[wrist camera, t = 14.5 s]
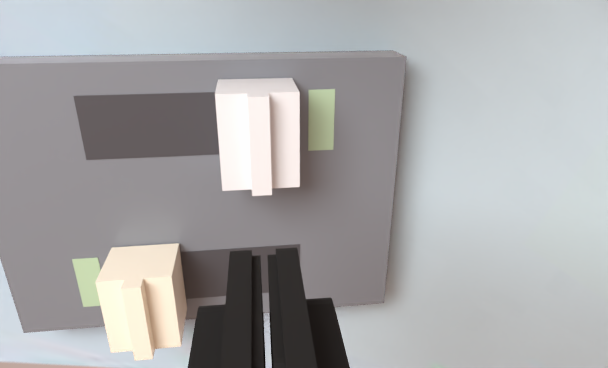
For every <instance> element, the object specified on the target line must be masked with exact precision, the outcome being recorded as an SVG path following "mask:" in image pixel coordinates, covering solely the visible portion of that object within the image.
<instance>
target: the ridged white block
mask: <svg viewBox="0 0 608 368" xmlns="http://www.w3.org/2000/svg"><path fill="white" fill-rule="evenodd" d="M215 102H216V115H217V128H218V141H219V154H220V167H221V180H222V191H231V190H251V189H252V196H263V195H272V188H290V187H300V92H299V90H298V88H297V86H296V84H295V83H294V81H293V79H292V78H261V79H218V82H217V87H216V91H215Z"/></svg>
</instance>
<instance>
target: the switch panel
mask: <svg viewBox="0 0 608 368" xmlns="http://www.w3.org/2000/svg"><path fill="white" fill-rule="evenodd" d="M405 67H406V56H403V55H401V54H399V53H397V52H395V51H335V52H272V53H209V54H146V55H83V56H20V57H0V259H1V262H2V265H3V268H4V271H5V275H6V278H7V281H8V284H9V287H10V291H11V294H12V297H13V300H14V303H15V306H16V310H17V313H18V316H19V319H20V322H21V325H22V329H23V332H24V333H28V332H40V331H52V330H64V329H76V328H88V327H100V326H105V323H104V319H103V314H102V310H101V305H100V301H99V296H98V292H97V287H96V283H95V282H96V279H97V277H98V275H99V273H100V271H101V269H102V267H103V265H104V263H105V261H106V258H107V256H108V254H109V252H110V250H111V248H112V247H128V246H144V245H159V244H175V243H179V247H180V255H181V263H182V271H183V279H184V287H185V295H186V303H187V312H186V319H196V316H197V311H198V307H199V306H209V305H224V304H225V303H226V291H227V279H228V267H229V255H230V251H241V250H252V256H255V255H260V256H261V277H262V298H263V313H268V312H270V309H269V283H268V257H267V255H272V254H276V249H277V248H295V247H297V250H298V256H299V261H300V267H301V273H302V279H303V285H304V291H305V297H306V299H315V298H330V297H331V298H332V300H333V304H334V307H341V306H353V305H365V304H377V303H384V297H385V286H386V275H387V264H388V253H389V242H390V232H391V221H392V210H393V199H394V188H395V177H396V166H397V155H398V144H399V133H400V122H401V111H402V100H403V89H404V78H405ZM261 78H292V79H293V81H294V83H295V84H296V86H297V88H298V90H299V92H300V187H290V188H272V195H263V196H252V189H251V190H231V191H222V180H221V167H220V154H219V141H218V128H217V115H216V102H215V91H216V87H217V82H218V79H261Z"/></svg>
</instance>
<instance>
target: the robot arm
mask: <svg viewBox="0 0 608 368" xmlns="http://www.w3.org/2000/svg"><path fill="white" fill-rule="evenodd" d="M267 257H268V283H269V309H270V334H271V356H272V368H350V367H349V363H348V359H347V355H346V351H345V347H344V343H343V339H342V335H341V331H340V327H339V324H338V320H337V316H336V312H335V308H334V304H333V300H332V298H331V297H330V298H315V299H306V297H305V291H304V285H303V279H302V273H301V267H300V261H299V256H298V250H297V247H295V248H277V249H276V254H272V255H267ZM188 368H265V342H264V320H263V298H262V277H261V256H260V255H255V256H252V250H241V251H230V255H229V267H228V279H227V291H226V303H225V304H224V305H209V306H199V307H198V311H197V316H196V322H195V328H194V334H193V340H192V346H191V352H190V358H189V364H188Z"/></svg>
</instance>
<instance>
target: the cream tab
mask: <svg viewBox="0 0 608 368" xmlns="http://www.w3.org/2000/svg"><path fill="white" fill-rule="evenodd" d="M95 283H96V287H97V292H98V296H99V301H100V305H101V310H102V314H103V319H104V323H105V328H106V332H107V337H108V341H109V346H110V350H111V353H113V352H124V351H133V354H134V359H135V361H136V360H146V359H153V356H154V351H155V349H158V348H169V347H180V346H181V344H182V338H183V331H184V325H185V319H186V312H187V303H186V295H185V287H184V279H183V271H182V263H181V255H180V247H179V243H175V244H159V245H144V246H128V247H112V248H111V250H110V252H109V254H108V256H107V258H106V261H105V263H104V265H103V267H102V269H101V271H100V273H99V275H98V277H97V279H96V282H95Z"/></svg>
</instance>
